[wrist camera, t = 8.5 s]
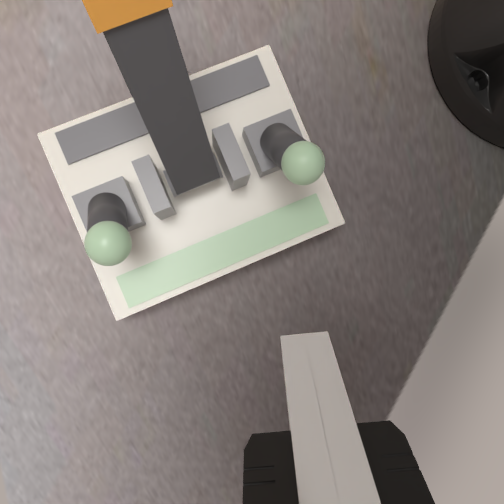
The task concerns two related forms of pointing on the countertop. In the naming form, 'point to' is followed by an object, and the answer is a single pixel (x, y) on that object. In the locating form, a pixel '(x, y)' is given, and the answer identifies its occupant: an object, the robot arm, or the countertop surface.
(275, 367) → the countertop surface
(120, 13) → the breaker lever
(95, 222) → the lever control panel
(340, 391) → the robot arm
